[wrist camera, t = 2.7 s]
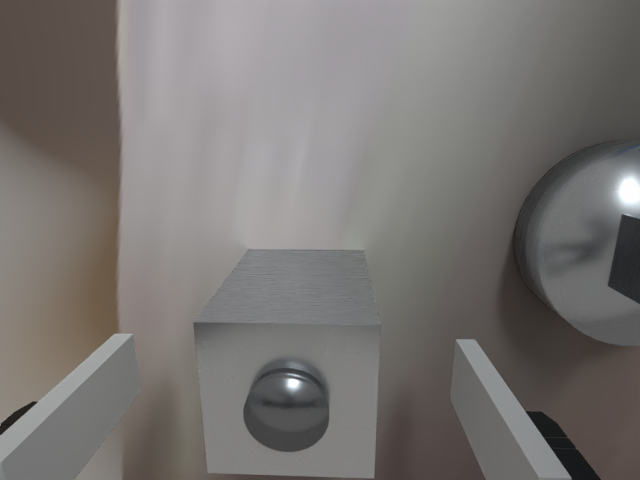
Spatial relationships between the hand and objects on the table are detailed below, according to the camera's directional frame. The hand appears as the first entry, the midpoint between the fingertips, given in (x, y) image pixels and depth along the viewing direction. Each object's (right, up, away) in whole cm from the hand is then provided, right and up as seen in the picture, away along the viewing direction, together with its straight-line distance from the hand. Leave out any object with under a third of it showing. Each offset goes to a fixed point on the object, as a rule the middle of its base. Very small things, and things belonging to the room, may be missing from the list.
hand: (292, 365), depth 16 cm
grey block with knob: (0, +2, +5) cm, 6 cm away
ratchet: (+23, +5, +3) cm, 24 cm away
